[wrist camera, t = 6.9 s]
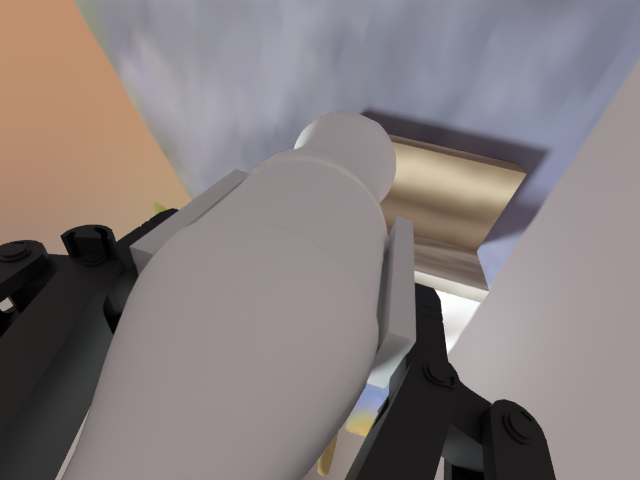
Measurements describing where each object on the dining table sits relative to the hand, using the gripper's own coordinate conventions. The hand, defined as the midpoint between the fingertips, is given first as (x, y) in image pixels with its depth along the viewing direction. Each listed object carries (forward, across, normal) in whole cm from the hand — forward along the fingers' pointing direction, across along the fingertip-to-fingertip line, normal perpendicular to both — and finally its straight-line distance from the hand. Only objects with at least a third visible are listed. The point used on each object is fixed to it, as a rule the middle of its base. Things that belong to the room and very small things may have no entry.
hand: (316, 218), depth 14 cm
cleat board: (+28, +8, -8) cm, 30 cm away
